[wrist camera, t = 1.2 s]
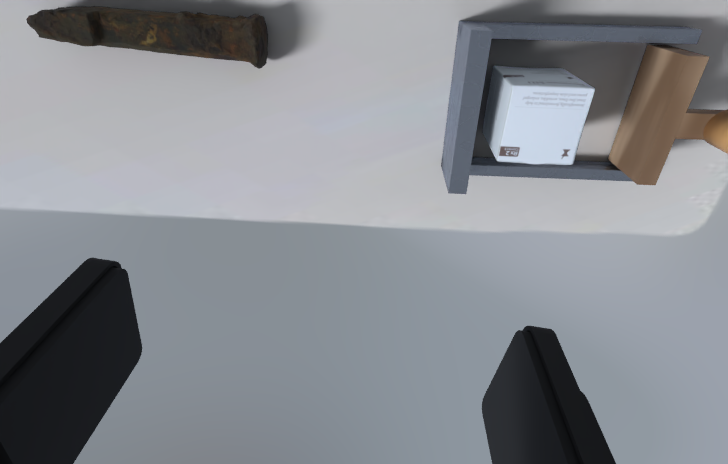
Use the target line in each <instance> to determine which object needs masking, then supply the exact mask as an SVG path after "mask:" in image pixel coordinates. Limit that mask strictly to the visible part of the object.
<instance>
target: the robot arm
mask: <svg viewBox="0 0 728 464" xmlns="http://www.w3.org/2000/svg"><path fill="white" fill-rule="evenodd" d="M141 352H142V344H141V339H140V334H139V329H138V323H137V319H136V314H135V309H134V303H133V298H132V294H131V288H130V283H129V278H128V273H127V271H126V270H125V269H122V268H121V265H120V264H119V263H118V262H115V261H110V260H102V259H97V258H89V259H87V260H86V261H85V262H84V263H83V264H82V265H80V266H79V268H78V269H76V271H74V272H73V273H72V274H71V275H70V277H68V278H67V279H66V280H65V281H64V282H63V283H62V284H61V285H60V286H59V287H58V288H57V289H56V290H55V291H54V292H53V293H52V294H51V295H50V296H49V297H48V298H47V299H46V300H45V301H43V302H42V303H41V304H40V305H39V306H38V307H37V308H36V309H35V310H34V311H33V312H32V313H31V314H30V315H29V316H28V317H27V318H26V319H25V320H24V321H23V322H22V323H21V324H20V325H19V326H18V327H17V328H16V329H14V330H13V332H11V333H10V334H9V335H8V337H6V338H5V339H4V340H3V341H2V342H1V343H0V464H73V463H74V461H75V460H76V458H77V457H78V455H79V454H80V452H81V450H82V449H83V447H84V446H85V444H86V443H87V441H88V439H89V438H90V436H91V435H92V433H93V432H94V430H95V428H96V427H97V425H98V424H99V422H100V421H101V419H102V417H103V416H104V414H105V413H106V411H107V410H108V408H109V407H110V405H111V403H112V402H113V400H114V399H115V397H116V396H117V394H118V392H119V391H120V389H121V388H122V386H123V385H124V383H125V381H126V380H127V378H128V377H129V375H130V374H131V372H132V370H133V369H134V367H135V366H136V364H137V363H138V361H139V359H140V356H141ZM482 413H483V419H484V424H485V429H486V434H487V439H488V444H489V449H490V454H491V459H492V464H616V463H615V461H614V458H613V456H612V454H611V452H610V449H609V447H608V445H607V443H606V440H605V438H604V436H603V433H602V431H601V429H600V427H599V425H598V422H597V420H596V418H595V415H594V413H593V411H592V409H591V406H590V404H589V402H588V400H587V398H586V397H585V395H584V394H583V393H582V392H581V391H580V389H579V387H578V385H577V382H576V380H575V378H574V376H573V373H572V371H571V368H570V366H569V364H568V362H567V359H566V357H565V355H564V352H563V350H562V348H561V346H560V343H559V341H558V339H557V336H556V334H555V332H554V331H553V330H552V329H547V328H540V327H534V326H526V327H525V328H524V329H523V331H520V330H519V331H517V332H516V333H515V335H514V337H513V339H512V341H511V343H510V345H509V347H508V349H507V351H506V353H505V355H504V358H503V360H502V361H501V363H500V365H499V367H498V369H497V371H496V374H495V375H494V378H493V379H492V381H491V384H490V385H489V388H488V389H487V391H486V393H485V396H484V398H483V402H482Z"/></svg>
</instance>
